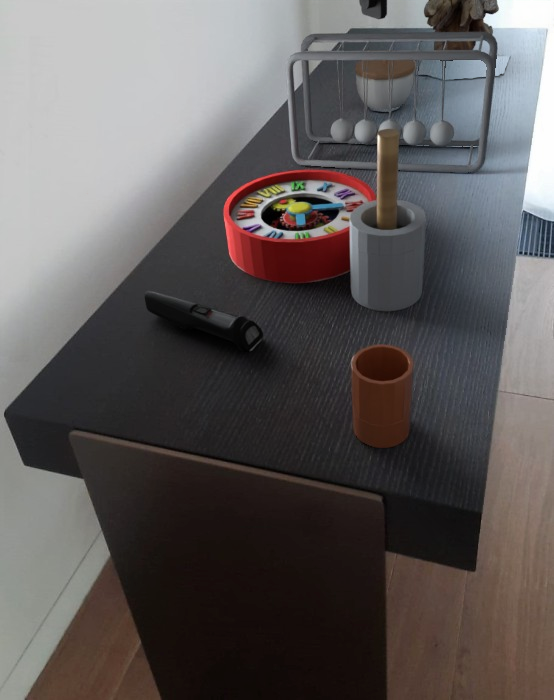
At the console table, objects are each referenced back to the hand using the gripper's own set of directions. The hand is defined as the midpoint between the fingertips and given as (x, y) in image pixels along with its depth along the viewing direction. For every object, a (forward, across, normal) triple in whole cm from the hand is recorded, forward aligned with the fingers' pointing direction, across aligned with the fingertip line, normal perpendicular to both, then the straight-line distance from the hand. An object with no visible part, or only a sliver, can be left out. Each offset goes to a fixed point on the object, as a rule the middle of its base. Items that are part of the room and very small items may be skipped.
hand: (418, 5), depth 64 cm
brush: (+31, -2, +2) cm, 31 cm away
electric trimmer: (+32, -24, +8) cm, 40 cm away
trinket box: (+31, +32, +53) cm, 69 cm away
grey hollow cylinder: (+32, -2, +2) cm, 32 cm away
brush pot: (+32, -15, -16) cm, 39 cm away
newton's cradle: (+31, +20, +34) cm, 50 cm away
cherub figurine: (+31, +57, +62) cm, 89 cm away
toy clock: (+32, -5, +18) cm, 37 cm away
